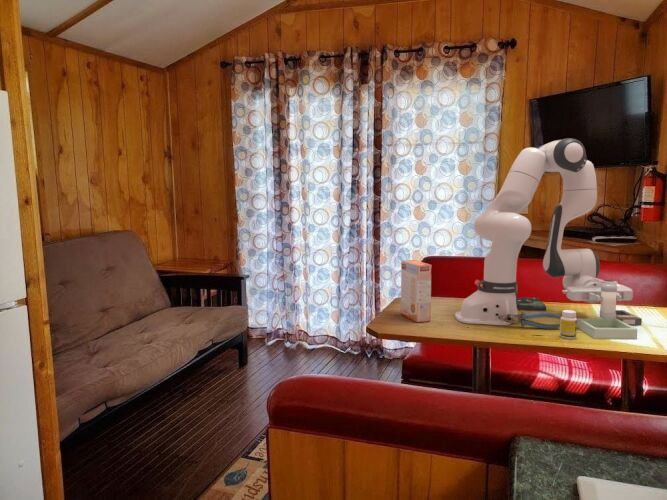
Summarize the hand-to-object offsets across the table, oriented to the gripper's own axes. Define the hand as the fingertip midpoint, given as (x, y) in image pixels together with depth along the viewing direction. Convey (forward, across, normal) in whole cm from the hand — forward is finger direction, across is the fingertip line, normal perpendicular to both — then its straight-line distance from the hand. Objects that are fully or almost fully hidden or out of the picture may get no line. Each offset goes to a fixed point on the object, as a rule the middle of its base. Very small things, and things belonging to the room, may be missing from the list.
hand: (609, 298), depth 161 cm
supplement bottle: (+4, -14, +12) cm, 19 cm away
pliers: (-6, -23, +12) cm, 27 cm away
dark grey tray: (-16, +12, +12) cm, 23 cm away
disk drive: (-38, -13, +12) cm, 42 cm away
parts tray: (-1, 0, +12) cm, 12 cm away
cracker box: (-19, -60, +11) cm, 64 cm away
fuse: (-1, 0, +6) cm, 7 cm away
